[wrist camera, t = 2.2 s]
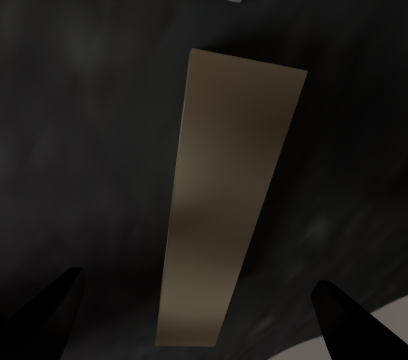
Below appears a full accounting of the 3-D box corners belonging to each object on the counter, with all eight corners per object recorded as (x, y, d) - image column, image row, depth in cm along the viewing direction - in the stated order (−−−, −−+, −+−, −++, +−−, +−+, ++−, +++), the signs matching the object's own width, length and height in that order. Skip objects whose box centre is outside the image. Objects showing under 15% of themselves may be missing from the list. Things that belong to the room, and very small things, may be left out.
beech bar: (208, 287, 17) (214, 346, 14) (161, 285, 17) (154, 345, 13) (265, 67, 10) (307, 70, 7) (189, 52, 10) (192, 48, 6)
